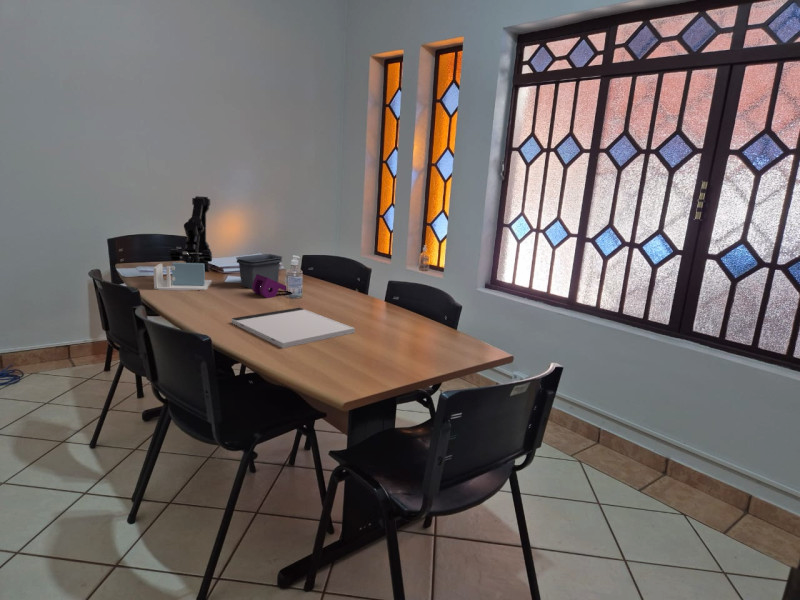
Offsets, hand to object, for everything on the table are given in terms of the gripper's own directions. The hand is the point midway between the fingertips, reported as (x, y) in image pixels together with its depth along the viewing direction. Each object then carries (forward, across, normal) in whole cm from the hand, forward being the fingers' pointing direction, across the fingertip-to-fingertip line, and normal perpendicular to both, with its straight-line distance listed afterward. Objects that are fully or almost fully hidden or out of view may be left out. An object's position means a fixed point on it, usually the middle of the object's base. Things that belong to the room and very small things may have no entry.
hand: (189, 270), depth 250 cm
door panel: (+6, 0, -3) cm, 7 cm away
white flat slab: (+53, -48, +40) cm, 82 cm away
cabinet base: (+5, +3, -6) cm, 8 cm away
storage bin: (+1, -31, -10) cm, 33 cm away
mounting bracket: (+15, -40, +3) cm, 43 cm away
